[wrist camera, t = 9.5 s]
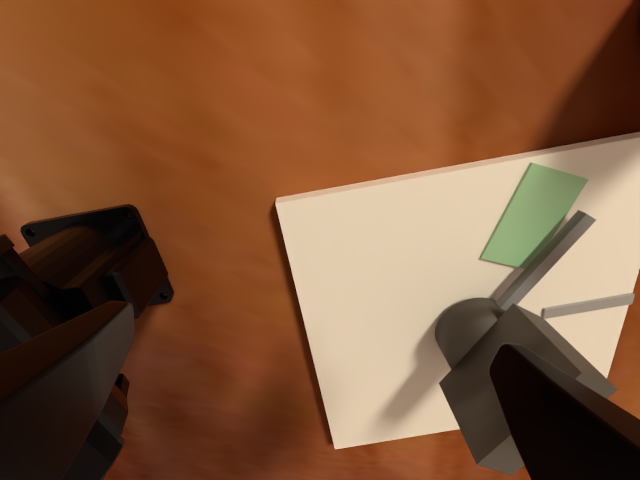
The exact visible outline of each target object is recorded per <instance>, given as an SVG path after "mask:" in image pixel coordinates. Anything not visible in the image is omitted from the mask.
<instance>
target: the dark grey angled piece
mask: <svg viewBox="0 0 640 480" xmlns="http://www.w3.org/2000/svg"><path fill="white" fill-rule="evenodd" d="M595 221H596V219H594V218H593V217H591V216H590V215H588V214H586V213H584V212H582V211H580V210H578V211H577V212H576V213H575V214H574V215H573V216H572V217H571V218H570V220H569V221H568V222H567V223H566V224H565V225H564V226H563V227H562V228H561V230H560V231H559V232H558V233H557V234H556V235H555V236H554V237H553V238H552V240H551V241H550V242H549V243H548V244H547V245H546V246H545V247H544V248H543V249H542V251H541V252H540V253H539V254H538V255H537V256H536V257H535V258H534V259H533V261H532V262H531V263H530V264H529V265H528V266H527V267H526V268H525V269H524V271H523V272H522V273H521V274H520V275H519V276H518V277H517V278H516V279H515V281H514V282H513V283H512V284H511V285H510V286H509V287H508V288H507V289H506V291H505V292H504V293H503V294H502V295H501V296H500V297H499V298H498V299H497V300H493V299H490V298H471V299H467V300H464V301H462V302H459V303H457V304H455V305H454V306H452V307H451V308H449V309H448V310H447V311H446V312H445V313H444V314H443V315H442V316H441V318H440V319H439V321H438V323H437V325H436V329H435V339H436V342H437V344H438V346H439V348H440V350H441V351H442V353H443V355H444V357H445V359H446V361H447V363H448V365H449V366H450V368H451V371H450V372H449V373H448V374H447V375H446V376H445V377H444V378H443V379H442V380H441V381H440V382H439V385H440V387H441V389H442V391H443V393H444V396H445V398H446V400H447V402H448V404H449V406H450V408H451V411H452V413H453V415H454V417H455V419H456V421H457V423H458V426H459V428H460V430H461V432H462V434H463V436H464V438H465V441H466V443H467V445H468V447H469V449H470V451H471V453H472V455H473V458H474V460H475V462H476V464H477V465H480V466H483V467H486V468H489V469H492V470H495V471H499V472H502V473H505V474H508V475H513V474H514V473H515V472H516V471H518V470H519V469H520V468H521V467H523V466H524V463H523V461H522V458H521V456H520V454H519V452H518V450H517V448H516V445H515V443H514V441H513V438H512V436H511V433H510V431H509V428H508V426H507V423H506V420H505V417H504V415H503V412H502V409H501V406H500V403H499V401H498V398H497V395H496V392H495V389H494V387H493V384H492V381H491V378H490V375H489V366H490V364H491V362H492V360H493V358H494V356H495V354H496V352H497V351H498V349H499V347H500V345H502V344H503V343H514V344H520V345H522V346H524V347H525V348H527V349H528V350H530V351H532V352H533V353H535V354H536V355H538V356H539V357H541V358H543V359H544V360H546V361H547V362H549V363H551V364H552V365H554V366H555V367H557V368H559V369H560V370H562V371H563V372H565V373H566V374H568V375H570V376H571V377H573V378H574V379H576V380H578V381H579V382H581V383H582V384H584V385H585V386H587V387H589V388H590V389H592V390H593V391H595V392H597V393H598V394H600V395H601V396H603V397H605V398H606V399H607V398H608V397H609V396H611V395H612V394H613V393H614V392H616V391H617V390H618V389H617V388H616V387H615V386H614V385H613V384H612V383H611V382H610V381H609V380H608V379H607V378H605V377H604V376H603V375H602V374H601V373H600V372H599V371H598V370H597V369H596V368H595V367H594V366H593V365H592V364H591V363H590V362H589V361H588V360H587V359H586V358H585V357H583V356H582V355H581V354H580V353H579V352H578V351H577V350H576V349H575V348H574V347H573V346H572V345H571V344H570V343H569V342H568V341H567V340H566V339H565V338H564V337H563V336H562V335H560V334H559V333H558V332H557V331H556V330H555V329H554V328H553V327H552V326H551V325H550V324H549V323H548V322H547V321H546V320H545V319H544V318H542V317H540V316H538V315H536V314H534V313H532V312H530V311H528V310H526V309H524V308H522V307H520V306H518V305H517V304H518V303H519V302H520V301H521V300H522V299H523V298H524V297H525V296H526V295H527V294H528V293H529V291H530V290H531V289H532V288H533V287H534V286H535V285H536V284H537V283H538V282H539V281H540V280H541V279H542V278H543V277H544V275H545V274H546V273H547V272H548V271H549V270H550V269H551V268H552V267H553V266H554V265H555V264H556V263H557V262H558V261H559V259H560V258H561V257H562V256H563V255H564V254H565V253H566V252H567V251H568V250H569V249H570V248H571V247H572V246H573V245H574V243H575V242H576V241H577V240H578V239H579V238H580V237H581V236H582V235H583V234H584V233H585V232H586V231H587V230H588V229H589V227H590V226H591V225H592V224H593V223H594V222H595Z"/></svg>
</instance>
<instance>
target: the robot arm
mask: <svg viewBox="0 0 640 480" xmlns="http://www.w3.org/2000/svg"><path fill="white" fill-rule="evenodd" d="M125 211H128V212H129V213H130V214H131V217H129V216H127V215H126V214H125ZM31 229H32V230H34V231H35V233H33V232H32V231H31ZM21 234H22V235H23V237H24V239H25V240H26V242H27V243H28V245H29V247H30V248H28V249H27V250H25V251H23V252H22V253H20V254H18V253H17V252H16V251H15V250H14V249H13V248H12V247H13V246H15V245H14V244H13V243H12V241H11V240H10V239H9V238H8V237H7V236H6V234H3V235H1V236H0V480H103V478H104V477H105V475H106V474H107V472H108V471H109V470H110V469H111V467H112V465H113V464H114V462H115V460H116V458H117V457H118V455H119V453H120V452H121V449H122V447H123V444H124V439H123V438H122V437H121V436H120V435H121V433H122V430H123V427H124V424H125V421H126V417H127V414H128V405H127V393H128V387H129V381H128V379H127V378H126V377H125V376H124V375H123V374H119V372H120V370H121V367H122V365H123V363H124V361H125V358H126V356H127V354H128V352H129V349H130V347H131V345H132V343H133V340H134V336H135V323H134V319H136V318H138V317H139V316H140V315H141V313H142V312H143V311H144V309H145V308H146V306H149V305H155V304H161V303H166V302H169V301H170V300H171V299H172V297H173V295H174V291H173V289H172V286H171V284H170V282H169V280H168V277H167V276H168V272H167V270H166V267H165V265H164V263H163V261H162V258H161V256H160V254H159V251H158V249H157V247H156V245H155V242H154V240H153V239H152V238H151V237H150V236H149V234H148V232H147V230H146V227H145V225H144V223H143V220H142V218H141V216H140V214H139V211H138V210H137V208H136V207H134V206H133V205H130V204H125V205H120V206H115V207H109V208H104V209H98V210H93V211H87V212H82V213H76V214H71V215H66V216H60V217H55V218H49V219H44V220H38V221H33V222H29V223H27V224H25V225H23V226H22V227H21ZM162 293H166V294H167V295H168V296H165V295H163V294H162ZM489 375H490V378H491V381H492V384H493V387H494V389H495V392H496V395H497V398H498V401H499V403H500V406H501V409H502V412H503V415H504V417H505V420H506V423H507V426H508V428H509V431H510V433H511V436H512V438H513V441H514V443H515V445H516V448H517V450H518V452H519V454H520V456H521V458H522V461H523V463H524V465H525V467H526V469H527V471H528V474H529V476H530V478H531V480H640V420H639V419H638V418H636V417H635V416H633V415H631V414H630V413H628V412H627V411H625V410H624V409H622V408H620V407H619V406H617V405H616V404H614V403H612V402H611V401H609V400H608V399H606V398H605V397H603V396H601V395H600V394H598V393H597V392H595V391H593V390H592V389H590V388H589V387H587V386H585V385H584V384H582V383H581V382H579V381H578V380H576V379H574V378H573V377H571V376H570V375H568V374H566V373H565V372H563V371H562V370H560V369H559V368H557V367H555V366H554V365H552V364H551V363H549V362H547V361H546V360H544V359H543V358H541V357H539V356H538V355H536V354H535V353H533V352H532V351H530V350H528V349H527V348H525V347H524V346H522V345H520V344H514V343H503V344H502V345H500V347H499V349H498V351H497V352H496V354H495V356H494V358H493V360H492V362H491V364H490V366H489Z"/></svg>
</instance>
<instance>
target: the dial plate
mask: <svg viewBox="0 0 640 480" xmlns="http://www.w3.org/2000/svg"><path fill="white" fill-rule="evenodd" d="M275 205H276V209H277V213H278V217H279V221H280V225H281V229H282V234H283V238H284V242H285V246H286V250H287V254H288V258H289V262H290V266H291V271H292V275H293V279H294V283H295V287H296V291H297V295H298V299H299V304H300V308H301V312H302V316H303V320H304V324H305V328H306V332H307V336H308V341H309V345H310V349H311V353H312V357H313V361H314V365H315V369H316V373H317V378H318V382H319V386H320V390H321V394H322V398H323V402H324V406H325V410H326V415H327V419H328V423H329V427H330V431H331V435H332V439H333V443H334V448H335V449H341V448H347V447H353V446H359V445H365V444H371V443H377V442H383V441H389V440H395V439H401V438H408V437H414V436H420V435H426V434H432V433H438V432H444V431H450V430H456V429H460V428H459V426H458V423H457V421H456V419H455V417H454V415H453V413H452V411H451V408H450V406H449V404H448V402H447V400H446V398H445V396H444V393H443V391H442V389H441V387H440V385H439V382H440V381H441V380H442V379H443V378H444V377H445V376H446V375H447V374H448V373H449V372H450V371H451V368H450V366H449V365H448V363H447V361H446V359H445V357H444V355H443V353H442V351H441V350H440V348H439V346H438V344H437V342H436V339H435V329H436V325H437V323H438V321H439V319H440V318H441V316H442V315H443V314H444V313H445V312H446V311H447V310H448V309H449V308H451V307H452V306H454V305H455V304H457V303H459V302H462V301H464V300H467V299H471V298H490V299H493V300H497V299H498V298H499V297H500V296H501V295H502V294H503V293H504V292H505V291H506V289H507V288H508V287H509V286H510V285H511V284H512V283H513V282H514V281H515V279H516V278H517V277H518V276H519V275H520V274H521V273H522V272H523V271H524V269H525V268H526V267H527V266H528V265H529V264H530V263H531V262H532V261H533V259H534V258H535V257H536V256H537V255H538V254H539V253H540V252H541V251H542V249H543V248H544V247H545V246H546V245H547V244H548V243H549V242H550V241H551V240H552V238H553V237H554V236H555V235H556V234H557V233H558V232H559V231H560V230H561V228H562V227H563V226H564V225H565V224H566V223H567V222H568V221H569V220H570V218H571V217H572V216H573V215H574V214H575V213H576V212H577V211H578V210H580V211H582V212H584V213H586V214H588V215H590V216H591V217H593V218H594V219H596V221H595V222H594V223H593V224H592V225H591V226H590V227H589V229H588V230H587V231H586V232H585V233H584V234H583V235H582V236H581V237H580V238H579V239H578V240H577V241H576V242H575V243H574V245H573V246H572V247H571V248H570V249H569V250H568V251H567V252H566V253H565V254H564V255H563V256H562V257H561V258H560V259H559V261H558V262H557V263H556V264H555V265H554V266H553V267H552V268H551V269H550V270H549V271H548V272H547V273H546V274H545V275H544V277H543V278H542V279H541V280H540V281H539V282H538V283H537V284H536V285H535V286H534V287H533V288H532V289H531V290H530V291H529V293H528V294H527V295H526V296H525V297H524V298H523V299H522V300H521V301H520V302H519V303H518V304H517V305H518V306H520V307H522V308H524V309H526V310H528V311H530V312H532V313H534V314H536V315H538V316H540V317H542V318H544V319H545V320H546V321H547V322H548V323H549V324H550V325H551V326H552V327H553V328H554V329H555V330H556V331H557V332H558V333H559V334H560V335H562V336H563V337H564V338H565V339H566V340H567V341H568V342H569V343H570V344H571V345H572V346H573V347H574V348H575V349H576V350H577V351H578V352H579V353H580V354H581V355H582V356H583V357H585V358H586V359H587V360H588V361H589V362H590V363H591V364H592V365H593V366H594V367H595V368H596V369H597V370H598V371H599V372H600V373H601V374H602V375H603V376H604V377H605V378H607V376H608V373H609V370H610V366H611V363H612V360H613V356H614V353H615V349H616V346H617V343H618V339H619V336H620V333H621V329H622V326H623V323H624V319H625V316H626V313H627V309H628V306H629V304H632V303H633V300H634V297H635V294H634V293H632V292H633V289H634V286H635V282H636V279H637V276H638V272H639V269H640V132H635V133H630V134H624V135H619V136H613V137H608V138H602V139H597V140H591V141H586V142H580V143H575V144H570V145H564V146H559V147H553V148H548V149H542V150H537V151H531V152H526V153H520V154H515V155H509V156H504V157H498V158H493V159H487V160H482V161H476V162H471V163H465V164H460V165H454V166H449V167H443V168H438V169H432V170H427V171H421V172H416V173H410V174H405V175H399V176H394V177H389V178H383V179H378V180H372V181H367V182H361V183H356V184H350V185H345V186H339V187H334V188H328V189H323V190H317V191H312V192H306V193H301V194H295V195H290V196H284V197H279V198H276V202H275Z"/></svg>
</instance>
